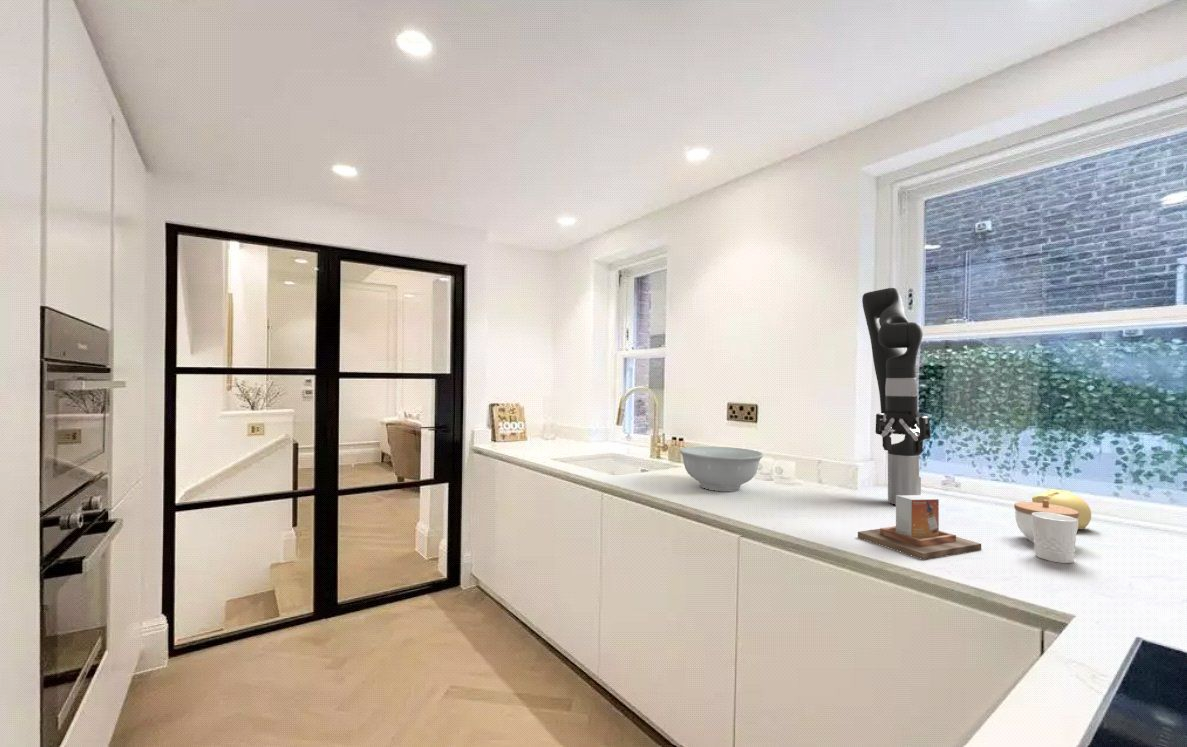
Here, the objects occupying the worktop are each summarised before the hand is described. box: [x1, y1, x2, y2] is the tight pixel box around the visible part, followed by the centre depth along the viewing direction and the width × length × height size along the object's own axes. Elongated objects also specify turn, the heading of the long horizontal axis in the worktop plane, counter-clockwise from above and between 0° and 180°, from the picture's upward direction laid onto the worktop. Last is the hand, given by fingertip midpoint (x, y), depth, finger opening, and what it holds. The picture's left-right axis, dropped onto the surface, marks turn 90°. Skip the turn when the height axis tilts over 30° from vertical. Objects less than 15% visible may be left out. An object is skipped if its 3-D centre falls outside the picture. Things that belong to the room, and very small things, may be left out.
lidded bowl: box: [1013, 500, 1079, 543], centre depth 130 cm, size 13×13×11 cm
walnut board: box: [857, 525, 982, 560], centre depth 128 cm, size 21×18×3 cm
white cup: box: [1032, 512, 1077, 564], centre depth 118 cm, size 8×8×10 cm
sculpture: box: [1031, 488, 1092, 530], centre depth 144 cm, size 12×12×11 cm
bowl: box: [679, 446, 764, 492], centre depth 195 cm, size 32×32×15 cm
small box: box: [895, 494, 940, 539], centre depth 128 cm, size 8×6×10 cm
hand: (902, 452), depth 137 cm, fingers open, 8 cm apart
